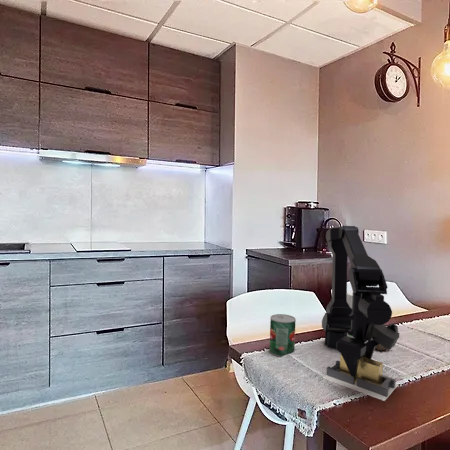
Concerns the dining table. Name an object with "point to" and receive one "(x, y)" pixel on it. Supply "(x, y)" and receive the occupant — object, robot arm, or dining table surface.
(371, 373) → the tan block
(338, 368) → the gray two-section tray
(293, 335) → the canned tomato
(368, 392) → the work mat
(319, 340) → the dining table surface
